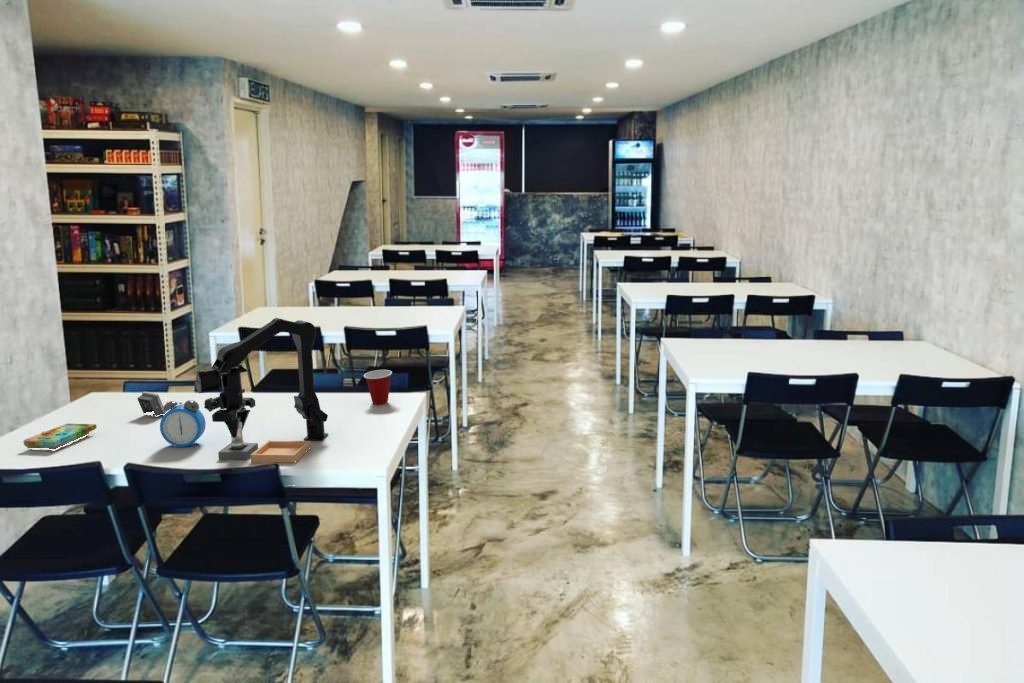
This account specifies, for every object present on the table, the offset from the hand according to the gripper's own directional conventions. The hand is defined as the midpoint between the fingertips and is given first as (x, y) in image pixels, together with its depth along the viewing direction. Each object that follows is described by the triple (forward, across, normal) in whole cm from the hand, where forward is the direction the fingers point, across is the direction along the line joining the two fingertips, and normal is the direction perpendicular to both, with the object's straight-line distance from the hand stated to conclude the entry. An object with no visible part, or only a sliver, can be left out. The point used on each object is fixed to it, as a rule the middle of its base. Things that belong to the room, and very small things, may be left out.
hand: (236, 435), depth 261 cm
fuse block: (+6, 0, 0) cm, 6 cm away
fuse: (+4, 0, 0) cm, 4 cm away
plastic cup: (+7, -62, +29) cm, 69 cm away
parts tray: (+6, 0, +14) cm, 15 cm away
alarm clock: (+7, -10, -23) cm, 26 cm away
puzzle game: (+7, -12, -68) cm, 69 cm away
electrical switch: (+7, -44, -53) cm, 69 cm away
